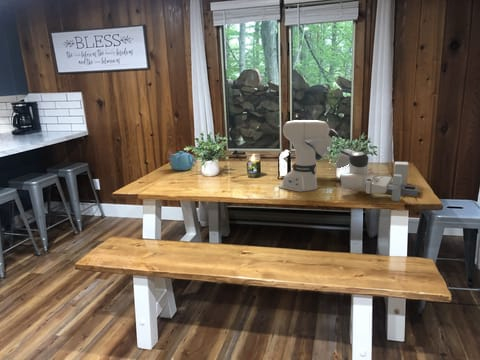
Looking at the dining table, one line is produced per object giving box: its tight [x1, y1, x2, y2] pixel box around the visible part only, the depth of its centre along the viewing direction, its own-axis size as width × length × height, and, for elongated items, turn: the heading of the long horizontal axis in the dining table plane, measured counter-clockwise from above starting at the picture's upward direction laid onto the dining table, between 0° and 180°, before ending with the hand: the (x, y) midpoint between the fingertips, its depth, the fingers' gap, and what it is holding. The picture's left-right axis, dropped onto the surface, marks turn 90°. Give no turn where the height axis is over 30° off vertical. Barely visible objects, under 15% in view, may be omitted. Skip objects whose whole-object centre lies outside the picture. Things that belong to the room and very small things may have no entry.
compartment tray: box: [385, 184, 420, 198], centre depth 210 cm, size 22×10×3 cm, turn 61°
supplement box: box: [393, 161, 409, 185], centre depth 222 cm, size 7×7×13 cm
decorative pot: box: [168, 150, 196, 172], centre depth 280 cm, size 16×16×14 cm
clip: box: [391, 173, 402, 202], centre depth 196 cm, size 4×4×13 cm
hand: (398, 185), depth 195 cm, fingers closed on clip, 4 cm apart
